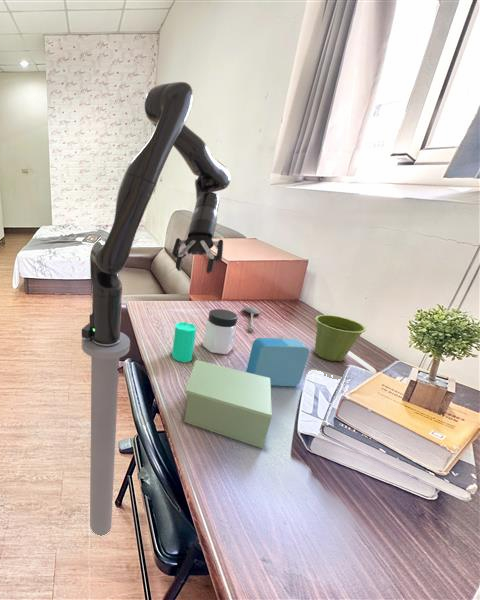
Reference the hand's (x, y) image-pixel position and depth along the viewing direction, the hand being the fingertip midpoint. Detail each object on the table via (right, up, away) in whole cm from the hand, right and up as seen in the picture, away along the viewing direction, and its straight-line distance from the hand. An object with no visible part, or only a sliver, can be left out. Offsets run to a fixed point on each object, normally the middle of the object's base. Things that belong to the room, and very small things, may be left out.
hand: (193, 271), depth 93 cm
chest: (0, -36, -21) cm, 41 cm away
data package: (+18, -31, -9) cm, 37 cm away
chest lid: (-1, -28, -24) cm, 37 cm away
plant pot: (+43, -26, +3) cm, 50 cm away
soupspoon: (+32, -17, +26) cm, 45 cm away
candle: (-3, -26, +2) cm, 27 cm away
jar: (+11, -24, +7) cm, 28 cm away
